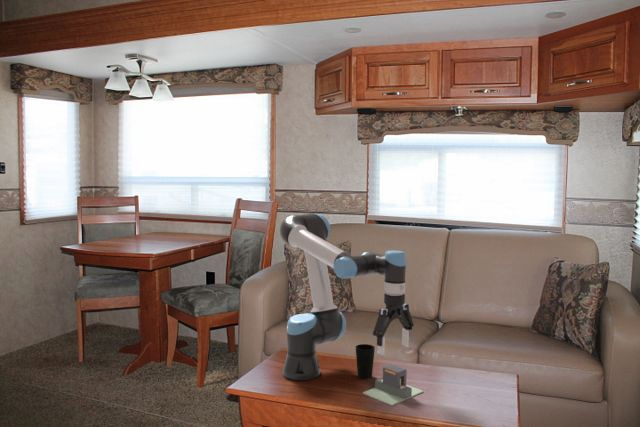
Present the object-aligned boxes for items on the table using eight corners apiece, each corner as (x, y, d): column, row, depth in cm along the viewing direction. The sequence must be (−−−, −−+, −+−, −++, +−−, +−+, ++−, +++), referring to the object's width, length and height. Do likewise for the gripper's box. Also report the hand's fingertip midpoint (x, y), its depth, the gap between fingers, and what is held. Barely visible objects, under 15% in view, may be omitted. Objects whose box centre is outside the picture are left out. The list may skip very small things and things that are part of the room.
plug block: (382, 383, 200) (382, 367, 200) (391, 379, 204) (391, 364, 203) (397, 388, 195) (397, 372, 195) (406, 385, 199) (406, 369, 198)
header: (362, 393, 199) (362, 376, 199) (394, 381, 211) (394, 365, 211) (391, 405, 189) (391, 387, 188) (423, 392, 201) (423, 375, 200)
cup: (373, 380, 212) (373, 350, 211) (353, 379, 213) (354, 349, 212) (375, 373, 219) (375, 344, 218) (356, 372, 221) (356, 343, 220)
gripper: (379, 300, 186) (378, 360, 188) (424, 290, 203) (422, 345, 205) (363, 296, 192) (362, 355, 193) (408, 286, 208) (406, 340, 210)
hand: (393, 350), depth 199 cm, fingers open, 13 cm apart
